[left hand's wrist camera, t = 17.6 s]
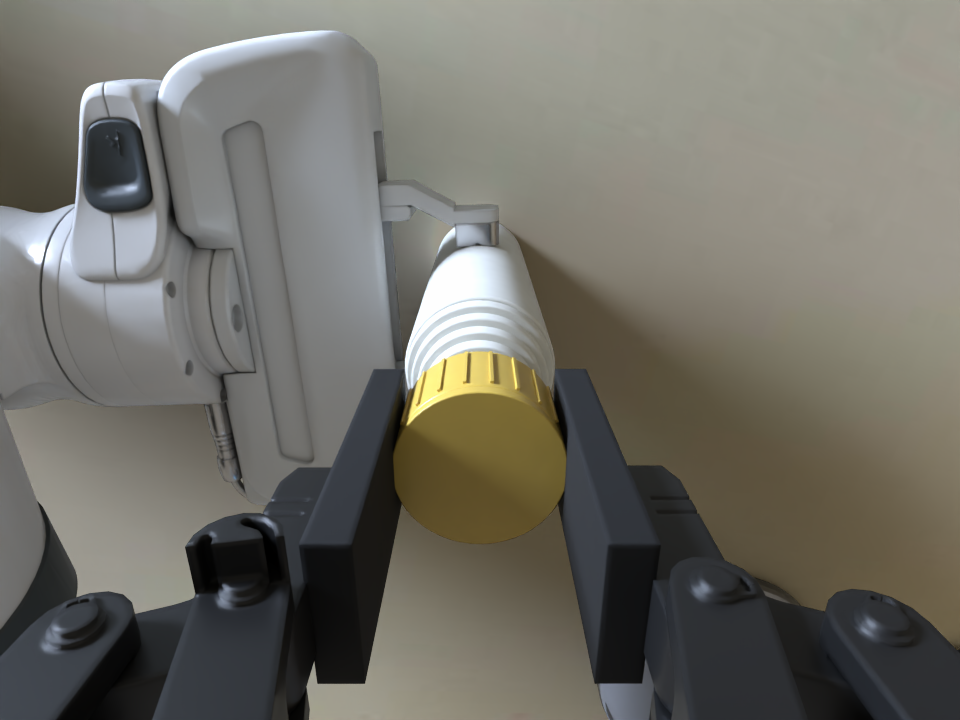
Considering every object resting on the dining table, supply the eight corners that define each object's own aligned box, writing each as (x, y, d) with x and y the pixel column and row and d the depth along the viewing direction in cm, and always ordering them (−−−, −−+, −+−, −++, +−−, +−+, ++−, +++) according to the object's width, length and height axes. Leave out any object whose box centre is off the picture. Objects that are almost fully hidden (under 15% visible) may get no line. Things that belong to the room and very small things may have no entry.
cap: (508, 318, 14) (513, 355, 12) (585, 444, 15) (603, 498, 13) (371, 396, 15) (352, 444, 12) (455, 510, 16) (451, 572, 14)
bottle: (510, 311, 33) (549, 558, 14) (429, 292, 32) (361, 521, 14) (532, 230, 31) (610, 389, 13) (447, 209, 31) (398, 341, 12)
